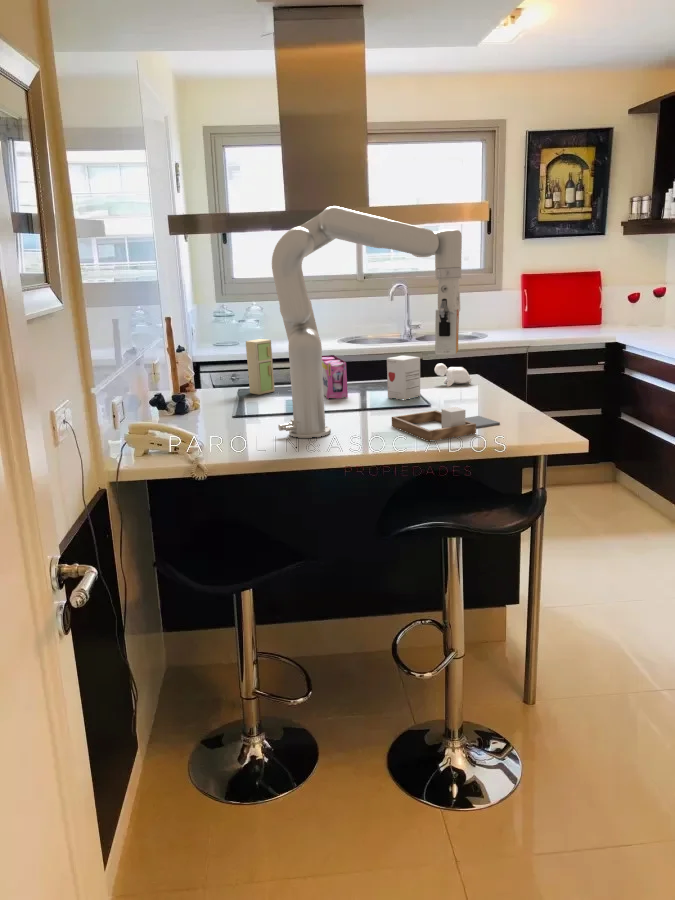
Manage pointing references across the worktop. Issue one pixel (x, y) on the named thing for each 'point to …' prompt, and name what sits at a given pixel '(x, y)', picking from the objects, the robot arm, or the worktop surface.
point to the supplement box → (403, 377)
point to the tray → (407, 425)
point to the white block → (453, 417)
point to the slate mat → (482, 421)
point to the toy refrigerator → (260, 366)
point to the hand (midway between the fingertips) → (448, 334)
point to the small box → (447, 342)
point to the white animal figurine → (453, 374)
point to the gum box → (334, 377)
